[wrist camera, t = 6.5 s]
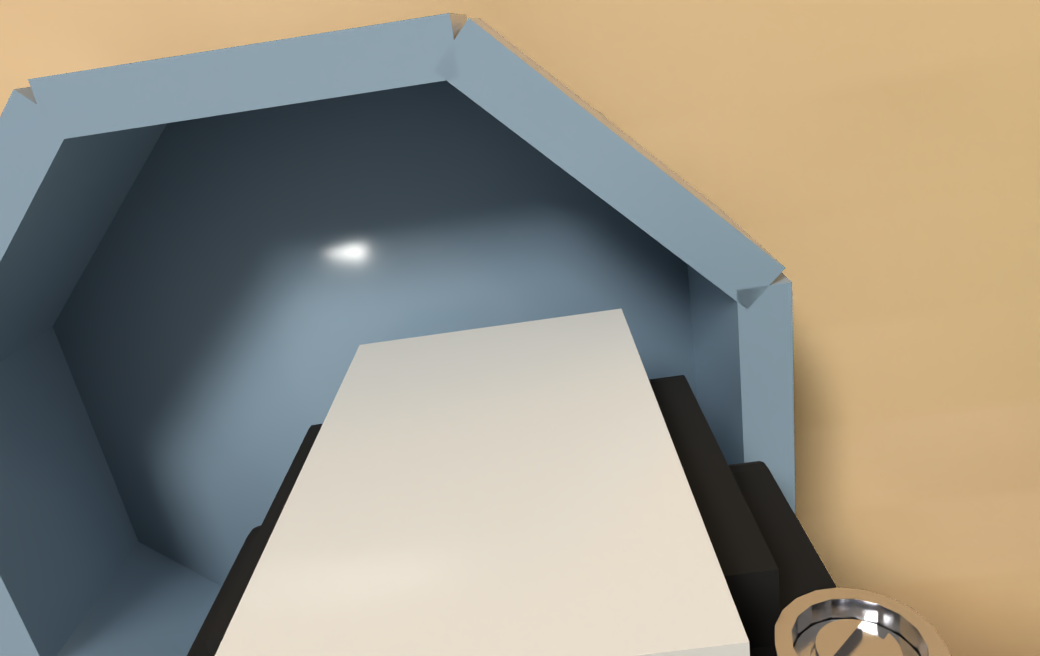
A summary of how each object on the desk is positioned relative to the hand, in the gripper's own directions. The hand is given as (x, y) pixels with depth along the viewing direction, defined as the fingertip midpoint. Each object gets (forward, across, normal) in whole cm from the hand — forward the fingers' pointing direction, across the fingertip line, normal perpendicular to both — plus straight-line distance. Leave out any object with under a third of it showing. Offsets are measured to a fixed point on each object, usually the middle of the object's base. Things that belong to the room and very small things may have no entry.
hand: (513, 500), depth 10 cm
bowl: (+4, +2, 0) cm, 5 cm away
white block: (+1, 0, 0) cm, 1 cm away
